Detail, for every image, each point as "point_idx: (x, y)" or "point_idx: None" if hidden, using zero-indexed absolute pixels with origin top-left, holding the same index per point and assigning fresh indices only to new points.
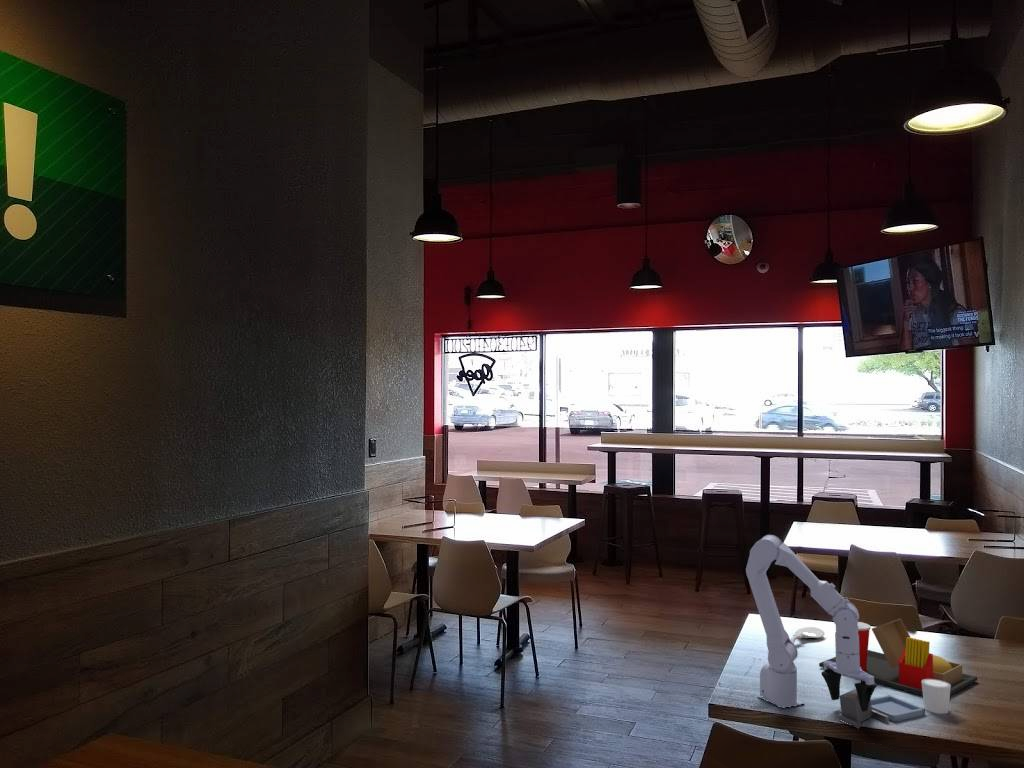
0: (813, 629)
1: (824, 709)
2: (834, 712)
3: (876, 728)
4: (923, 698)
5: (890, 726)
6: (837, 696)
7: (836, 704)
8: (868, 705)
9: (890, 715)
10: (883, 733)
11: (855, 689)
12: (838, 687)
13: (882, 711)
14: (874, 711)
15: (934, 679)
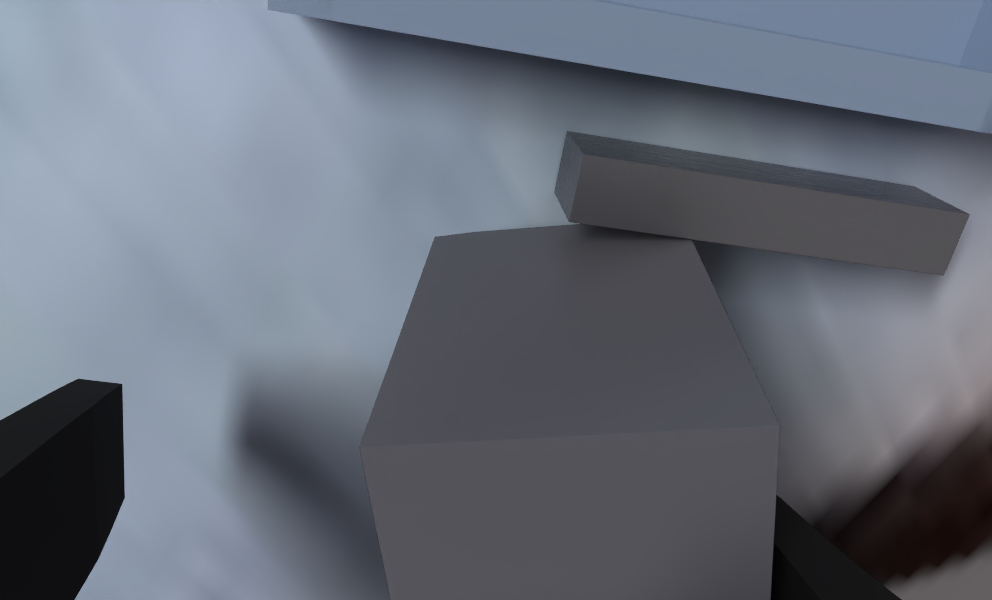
0: None
1: (123, 514)
2: (265, 492)
3: (867, 487)
4: None
5: (977, 296)
6: (100, 445)
7: (28, 212)
8: (777, 497)
9: (969, 126)
10: (974, 537)
11: (408, 472)
12: (1, 517)
13: (821, 99)
14: (728, 223)
15: None
